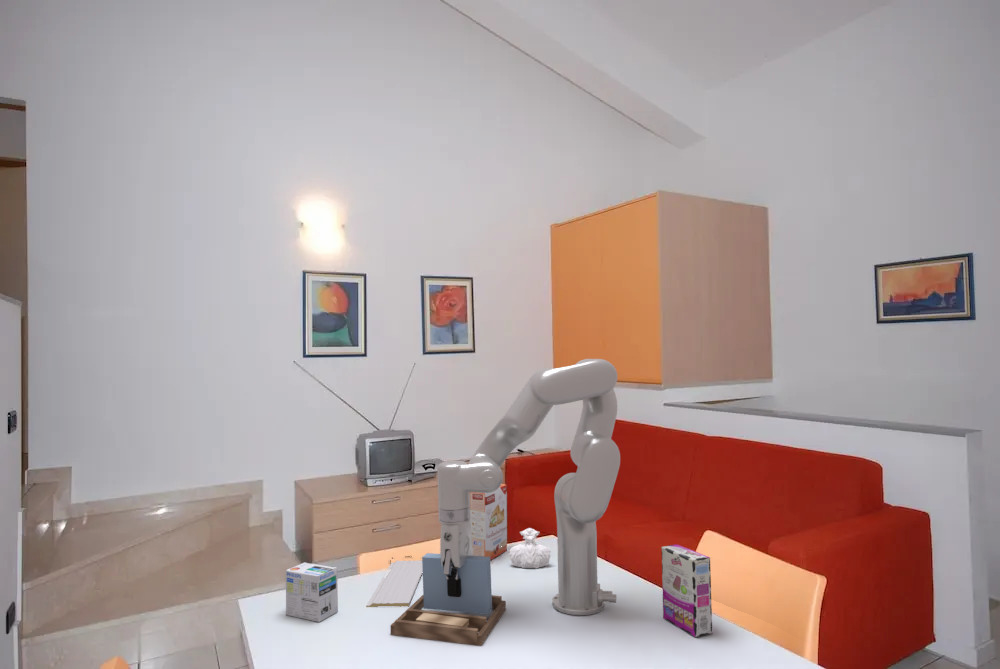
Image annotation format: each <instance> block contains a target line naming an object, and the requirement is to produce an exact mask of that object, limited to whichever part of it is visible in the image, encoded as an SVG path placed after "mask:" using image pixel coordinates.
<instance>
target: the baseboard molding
mask: <svg viewBox="0 0 1000 669" xmlns="http://www.w3.org/2000/svg"><path fill="white" fill-rule="evenodd" d="M404 558H413V557H412V555H408V556H407V555H404ZM391 559H394V557H391ZM389 564H390V565H389V566H388V568H387V570H390V569H391V571H390V572H389V573H388V575H387V576H386V578H384V577H382V578H381V579H380V581H379V583H378V584H377V587H376V588H375V590H374V592H373V594H372V595H371V597H370V599H369V600H368V602H367V604H366V606H365V607H366V608H379V607H378V606H400V607H401V606H408V608H409V607H410V604H411V602H412V600H413V597H414V594H415V592H416V589H417V588H416V587H418V585H419V583H420V580H421V578H422V576H423V573H422V572H423V568H422V560H396V561H394V562H392V560H390V559H389ZM421 575H422V576H421ZM420 577H421V578H420ZM418 582H419V583H418ZM400 607H399V608H400ZM401 608H402V607H401Z"/></svg>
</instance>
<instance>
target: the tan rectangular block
mask: <svg viewBox="0 0 1000 669" xmlns="http://www.w3.org/2000/svg"><path fill="white" fill-rule="evenodd" d="M416 622H424V623H433V624H441V625H450V626H459V627H467V626H468V625H469V619H465V618H458V617H451V616H444V615H437V614H430V613H423V614H422V615H420V616H419V617H418V618H417V619H416Z"/></svg>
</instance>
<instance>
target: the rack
mask: <svg viewBox="0 0 1000 669" xmlns="http://www.w3.org/2000/svg"><path fill="white" fill-rule="evenodd" d="M506 603H507V602H506V600H503V598H502V595H493V594H492V610H491V611H493V612H492V613H491V614H490V616H489V617H487V616H481V615H473V614H472V615H470V614H465V613H453V612H447V611H446V612H445V611H444V612H443V611H437V610H435V611H434V610H428V609H424V597H423V594H422V595H420V597H419V598H418V599H417V600H415V602H414V603H412V605H410V606H409V607H408V608H407V609H406V610H405V611H404V612H403V613H402V614H401V615H400V616H399V617H397V618H396V619H395V620H394V621H393V622H392V624H390V625H389V626H390V629H389V630H390V635H391V636H398V637H407V638H413V639H414V638H415V639H423V640H430V641H437V642H438V641H439V642H448V643H453V644H454V643H457V644H463V645H471V646H482V645H483V644H484V642H485V641H486V639H487V638H488V636H489V635H490V634H491V632H492V631H493V630H494V627H496V625H497V624H498V622H499V620H500V618H501V617H502V616H503V614H504V612H506V610H507V608H506V607H507V604H506ZM423 613H430V614H437V615H444V616H451V617H458V618H465V619H469V625H468V626H467V627H459V626H450V625H441V624H433V623H424V622H416V619H417V618H418V617H419V616H420V615H422V614H423Z"/></svg>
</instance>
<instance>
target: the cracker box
mask: <svg viewBox="0 0 1000 669" xmlns="http://www.w3.org/2000/svg"><path fill="white" fill-rule="evenodd" d="M507 487H508V486H507V484H504V483H502V484H501V486H500V487H499V488H498V489H497V490H496V491H494V492H491V493H476V492H470V515H471V520H470V524H471V532H472V544H473V555H472V556H485V557H490V561H492V560H494V559H495V558H496V557H498V556H500V555H502V554H503V552H504V553H505V552H507V550H508V528H507V527H508V511H507V510H508V506H507V505H508V500H507V499H508V493H507V492H508V489H507ZM501 546H502V547H501Z"/></svg>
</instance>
